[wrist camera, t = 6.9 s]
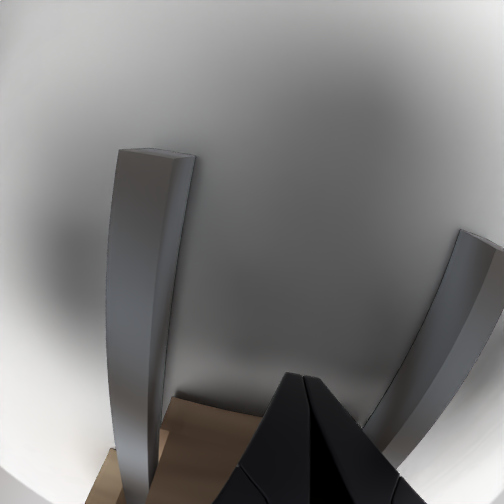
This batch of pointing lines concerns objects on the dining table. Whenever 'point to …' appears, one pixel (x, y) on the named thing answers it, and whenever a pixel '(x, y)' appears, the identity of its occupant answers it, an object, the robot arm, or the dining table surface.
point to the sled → (198, 452)
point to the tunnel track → (159, 308)
